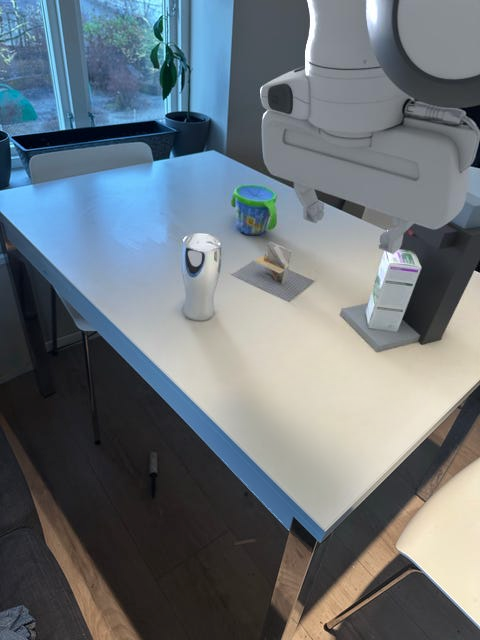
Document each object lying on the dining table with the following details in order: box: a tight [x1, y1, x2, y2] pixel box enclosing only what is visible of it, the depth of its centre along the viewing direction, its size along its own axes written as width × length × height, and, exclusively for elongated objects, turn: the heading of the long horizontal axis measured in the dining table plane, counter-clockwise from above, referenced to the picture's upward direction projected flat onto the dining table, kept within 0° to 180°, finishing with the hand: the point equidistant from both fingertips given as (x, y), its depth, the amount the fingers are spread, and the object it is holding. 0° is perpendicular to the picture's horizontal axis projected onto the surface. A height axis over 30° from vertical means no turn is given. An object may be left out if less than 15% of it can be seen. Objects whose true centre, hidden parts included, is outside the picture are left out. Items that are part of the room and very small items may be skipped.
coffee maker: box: [339, 191, 480, 353], centre depth 81 cm, size 15×14×27 cm
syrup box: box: [365, 249, 421, 332], centre depth 82 cm, size 6×6×14 cm
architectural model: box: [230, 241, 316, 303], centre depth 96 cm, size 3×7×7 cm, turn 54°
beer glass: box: [181, 232, 223, 322], centre depth 81 cm, size 7×7×15 cm
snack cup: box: [230, 184, 278, 236], centre depth 114 cm, size 16×10×10 cm
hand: (349, 233), depth 47 cm, fingers open, 8 cm apart
